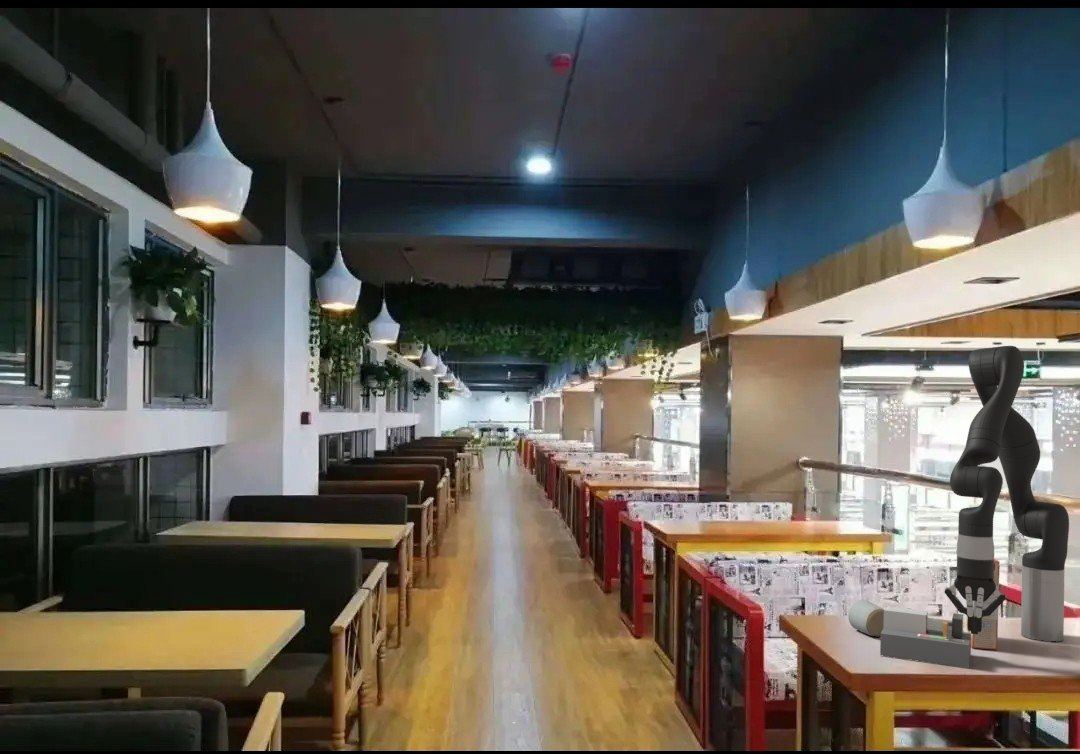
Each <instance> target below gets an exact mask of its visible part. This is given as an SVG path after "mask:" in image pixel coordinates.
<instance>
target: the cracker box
mask: <svg viewBox="0 0 1080 754" xmlns="http://www.w3.org/2000/svg"><path fill="white" fill-rule="evenodd" d="M994 583H995V584H996V589H997V590H999V591H1000V561H999V560H998V559H996V558H994ZM993 596H994V592H993V594H992V595H991V596H990V597H989V598H988V599H987V600H986V601H984V602H983V607H982V610H984V609H986V608H987V607H988V606H989V605H990V604H991V603H992V602H993V601H994V598H993ZM958 599H959V601H960V602H961V603H962V605H963V606H964V607H966V608H967V604H966V600H965V599H964V598H963V597H962V596H961V594H960V593H959V592H958ZM976 606H977V601H973V611H974V616H976ZM957 614H963V632H968V633H971V631H968V617H967V615H966V614H964V613H960V612H959V611H958V610H957ZM998 630H999V607H998V608H997V609H996V610H995V611H994V612H993V613H992V614H991V615H990V616H984V617H982V630H981V632H978V634H975V632H974V634H971V649H981V650H991V651H993V650H995V651H998V641H999V640H998V637H999V636H998V635H999V634H998V632H999V631H998Z"/></svg>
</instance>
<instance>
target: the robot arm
mask: <svg viewBox="0 0 1080 754" xmlns="http://www.w3.org/2000/svg"><path fill="white" fill-rule="evenodd" d="M968 369H969V374H970V377H971V381H972V382H973V385H974V387H975V390H976V393H977V395H978V397H979V400H980V402H981V404H982V407H981V409H980V410H979V411H978V412H977V413H976V414H975V416H974V417H973V418H972V421H971V423H970V425H969V428H968V432H967V433H968V434H967V439H966V443H965V447H964V449H963V451H962V453H961V455H960V457H959V459H958V460H957V462H956V463H955V465H954V467H953V469H952V470H951V473H950V477H949V486H950V488H951V491H952V492H953V493H954V494H955V495H956V496H959V497H964V498H965V497H966V498H979V499H982V500H981V503H980V504H979V505H978V506H972V507H971V506H970V507H963V508H961V509H960V510H959V512H958V528H957V529H958V534H957V541H956V578H955V579H954V580H953V581H954V582H953V584H952V585H950V586H949V587H945V588H944V594H945V595H946V597H947V598H948V599H949V601H950V602H951V603H952V604H953V606H954V607H955V609H956V610H957V612H958V611H959V612H960V613H964V614H966V615H967V617H968V631H971V634H974V632H975V634H978V632H981V630H982V617H984V616H990V615H991V614H992V613H993V612H994V611H995V610H996V609H997V608H998V609H999V607H1000V605H1002V604H1003V603H1004V602H1005V601H1006V599H1007V596H1006V593H1004V592H1002V591H1000V589H999V590H997V589H996V584H995V583H994V559H995V544H994V516H995V511H996V507H997V504H998V501H999V497H1000V495H1001V491H1002V489H1003V484H1004V481H1003V480H1004V479H1005V482H1006V486H1007V490H1008V493H1009V500H1010V505H1011V511H1012V516H1013V520H1014V523H1015V527H1016V528H1017V530H1018V532H1019V534H1020V535H1022V536H1024V537H1026V538H1030V539H1036V540H1037V539H1038V540H1042V541H1041V547H1040V548H1039V549H1037V550H1035V551H1030V552H1029V551H1028V552H1024V554H1023V555H1022V556H1021V557H1022V558H1021V608H1020V609H1021V616H1020V617H1021V619H1020V620H1021V622H1020V623H1021V624H1020V625H1021V628H1020V635H1021V636H1023V637H1024V636H1025V638H1028V639H1031V638H1032V640H1035V639H1037V640H1036V641H1041V640H1044V641H1043V642H1051V641H1056V642H1061V641H1062V642H1063V641H1064V636H1065V634H1064V632H1065V631H1064V629H1065V627H1064V626H1065V570H1066V569H1065V565H1066V560H1067V557H1068V546H1069V545H1068V544H1069V542H1068V541H1069V531H1070V517H1069V513H1068V510H1067V509H1066V507H1065V506H1063V505H1062V504H1059V503H1053V502H1046V501H1037V500H1036V498H1035V497H1034V493H1033V491H1032V490H1033V489H1032V480H1033V476H1034V474H1035V472H1036V471H1037V468H1038V465H1039V463H1040V459H1041V448H1040V445H1039V442H1038V437H1037V435H1036V433H1035V432H1036V431H1035V430H1034V428H1033V426H1032V425H1031V424H1030V423H1029V421H1028V420H1027V419H1026V418H1025V417H1023V415H1021V414H1020V413H1019V412H1018V411H1017V410H1015V409H1014V408H1013V404H1014V401H1015V398H1016V396H1017V394H1018V391H1019V389H1020V386H1021V383H1022V380H1023V376H1024V370H1025V360H1024V356H1023V354H1022V351H1021V350H1020V349H1019V348H1018V347H1016V346H1014V345H1001V346H993V347H984V348H978V349H974V350H972V351H971V352H970V354H969V356H968ZM998 459H999V461H1000V464H1001V467H1002V471H1003V474H1004V479H1003V475H1002V473H1001V472H1000V470H999V469H997V468H996V467H992V466H981V465H985V464H991V463H994V462H995V461H997V460H998ZM957 591H958V593H957ZM993 592H994V596H993V598H994V601H993V602H992V603H991V604H990V605H989V606H988V607H987V608H986V609H984V610H982V607H983V602H984V601H986V600H987V599H988V598H989V597H990V596H991V595H992V594H993ZM959 593H960V594H961V596H962V597H963V598H964V599H965V600H966V604H967V608H966V607H964V606H963V605H962V603H961V602H960V601H959V597H957V594H959ZM973 601H977V606H976V616H974V611H973Z"/></svg>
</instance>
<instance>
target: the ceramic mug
mask: <svg viewBox="0 0 1080 754" xmlns="http://www.w3.org/2000/svg"><path fill="white" fill-rule="evenodd" d="M884 609H885V608H883V607H880V606H879V605H877V604H874V603H873V602H871V601H869V600H867V599H858V600H856V601H855V602H853V603H852V604H851V606H850V608H849V609H848V614H847V615H848V616H847V617H848V621H849V622H848V623H849V624H850V626H851V627H852V628H853V629H854V630H858V631H859V632H861V633H864V634H866V635H868V636H871V637H874V636H875V637H876V638H880V637H879V636H881V632H882V630H883V626H884ZM875 637H874V638H875Z"/></svg>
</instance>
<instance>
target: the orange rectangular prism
mask: <svg viewBox="0 0 1080 754" xmlns="http://www.w3.org/2000/svg"><path fill="white" fill-rule="evenodd" d="M943 637H947V622H943Z"/></svg>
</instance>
